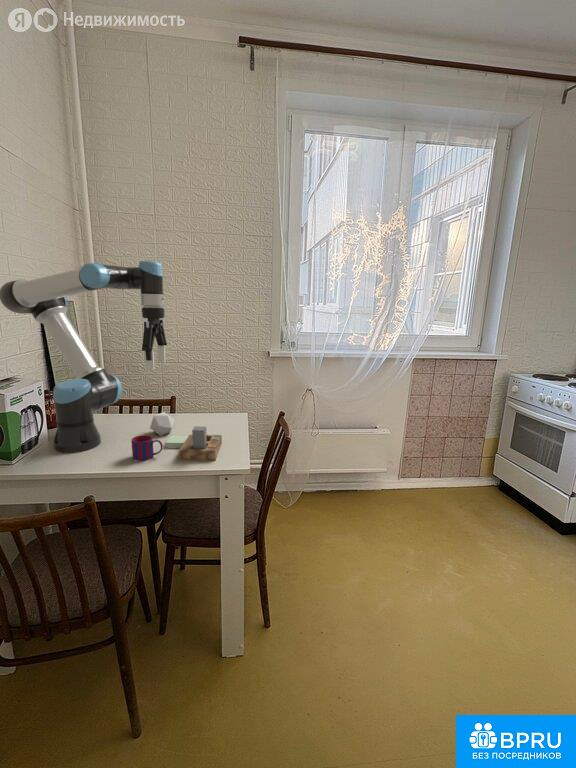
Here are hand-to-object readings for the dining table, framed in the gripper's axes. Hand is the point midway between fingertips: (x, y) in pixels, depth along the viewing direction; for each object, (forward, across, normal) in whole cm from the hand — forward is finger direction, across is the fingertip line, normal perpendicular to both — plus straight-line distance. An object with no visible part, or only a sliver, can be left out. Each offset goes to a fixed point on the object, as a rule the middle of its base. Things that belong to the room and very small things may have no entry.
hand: (156, 366), depth 140 cm
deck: (+29, -4, -8) cm, 30 cm away
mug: (+29, -17, -1) cm, 33 cm away
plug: (+29, -15, -18) cm, 37 cm away
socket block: (+29, -11, -18) cm, 36 cm away
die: (+29, +7, +1) cm, 30 cm away
